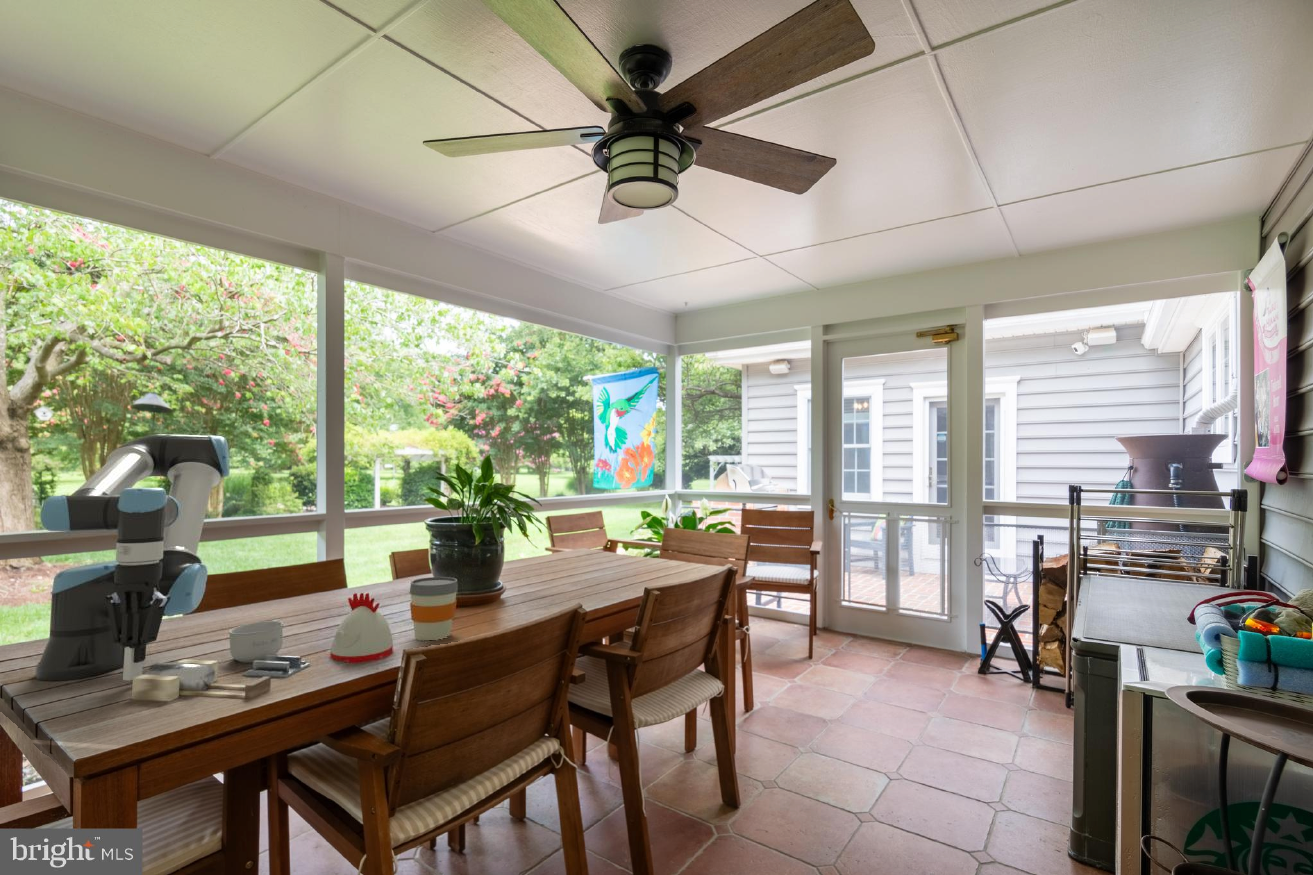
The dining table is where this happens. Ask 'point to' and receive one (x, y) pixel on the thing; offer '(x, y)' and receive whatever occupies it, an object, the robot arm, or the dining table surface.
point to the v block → (277, 666)
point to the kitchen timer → (362, 633)
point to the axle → (186, 674)
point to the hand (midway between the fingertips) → (132, 677)
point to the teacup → (256, 640)
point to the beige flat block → (169, 690)
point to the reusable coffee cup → (433, 606)
